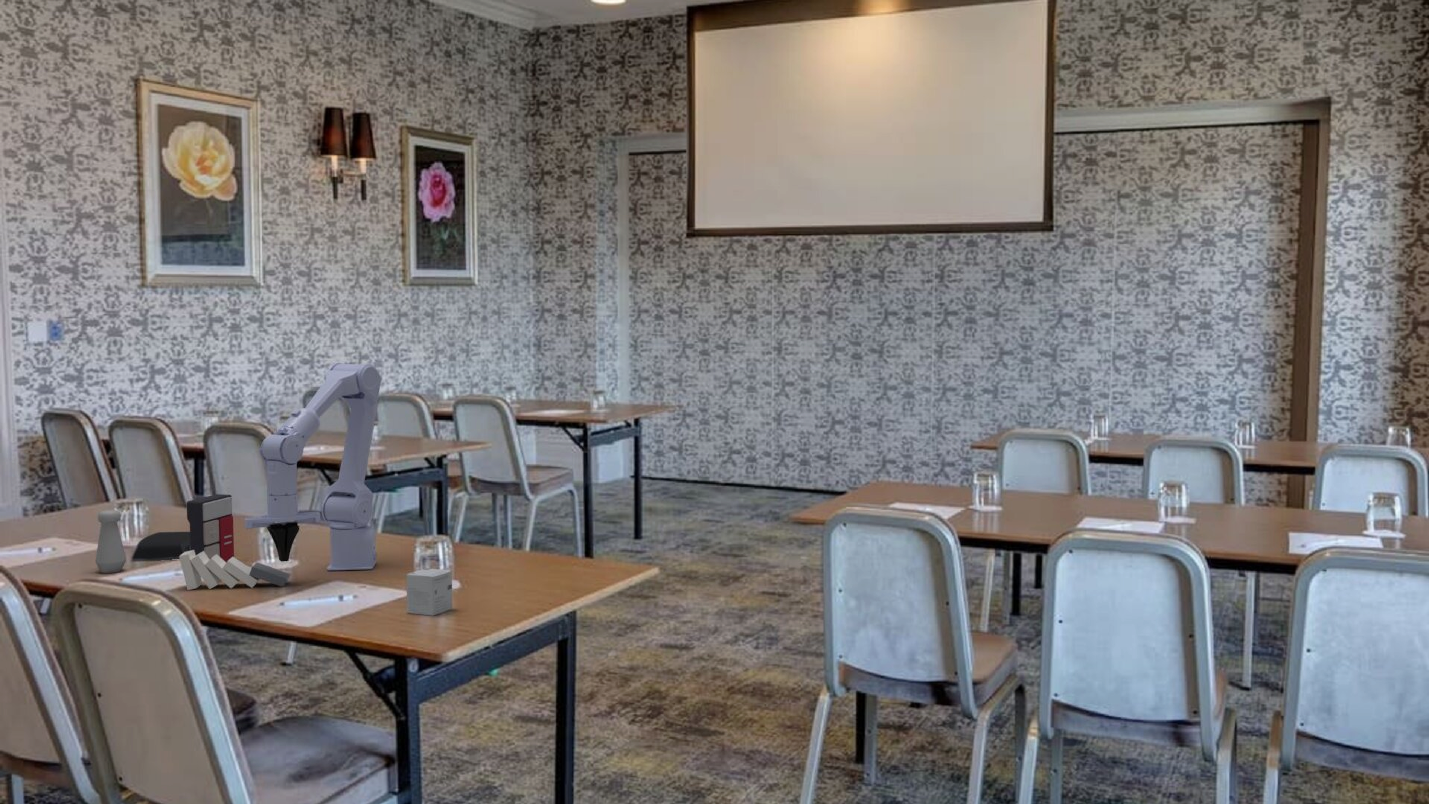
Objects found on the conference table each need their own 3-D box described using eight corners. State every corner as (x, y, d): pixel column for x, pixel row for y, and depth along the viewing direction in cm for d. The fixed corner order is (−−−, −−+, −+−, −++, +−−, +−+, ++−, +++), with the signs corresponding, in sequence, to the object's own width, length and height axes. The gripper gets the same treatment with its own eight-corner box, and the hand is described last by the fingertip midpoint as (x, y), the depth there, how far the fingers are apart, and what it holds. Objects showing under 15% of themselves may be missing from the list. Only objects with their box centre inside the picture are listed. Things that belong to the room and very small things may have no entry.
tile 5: (202, 583, 245) (194, 549, 244) (196, 588, 240) (188, 554, 240) (193, 585, 244) (184, 551, 244) (187, 590, 240) (179, 556, 239)
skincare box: (433, 616, 220) (433, 576, 220) (406, 613, 222) (405, 573, 222) (453, 609, 226) (452, 570, 225) (426, 605, 228) (425, 567, 228)
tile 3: (242, 577, 246) (216, 554, 245) (237, 582, 242) (211, 558, 240) (236, 583, 246) (210, 560, 245) (231, 588, 241) (204, 564, 240)
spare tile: (290, 574, 247) (256, 562, 246) (286, 578, 243) (252, 566, 242) (287, 582, 247) (253, 570, 246) (283, 587, 243) (248, 574, 242)
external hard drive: (126, 563, 267) (125, 545, 267) (153, 547, 286) (152, 530, 286) (188, 562, 269) (188, 544, 269) (211, 545, 288) (210, 528, 288)
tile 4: (222, 579, 245) (203, 550, 244) (217, 584, 241) (198, 555, 240) (215, 584, 245) (195, 555, 244) (209, 589, 241) (189, 559, 240)
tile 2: (262, 576, 246) (232, 556, 245) (257, 580, 242) (227, 560, 241) (256, 583, 246) (227, 563, 245) (252, 588, 242) (222, 568, 241)
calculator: (206, 572, 256) (204, 502, 255) (188, 571, 257) (186, 501, 256) (236, 561, 267) (234, 494, 266) (219, 560, 268) (217, 493, 267)
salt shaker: (132, 570, 258) (130, 509, 257) (109, 575, 253) (107, 513, 252) (113, 567, 261) (111, 507, 260) (89, 572, 256) (87, 511, 255)
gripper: (312, 488, 251) (313, 553, 252) (239, 494, 243) (241, 561, 244) (323, 492, 245) (324, 558, 246) (249, 499, 237) (250, 567, 238)
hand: (283, 560), depth 245 cm, fingers closed
